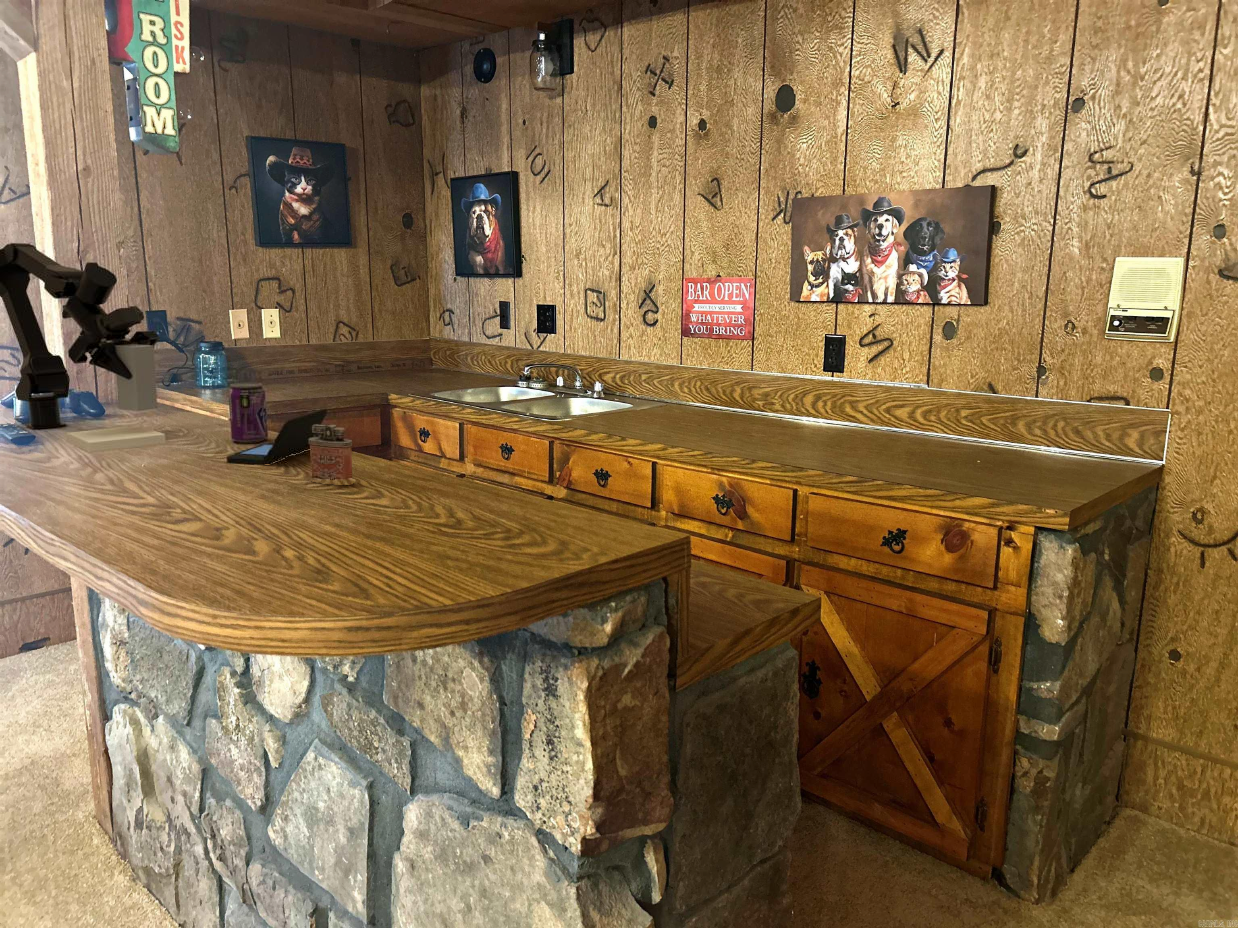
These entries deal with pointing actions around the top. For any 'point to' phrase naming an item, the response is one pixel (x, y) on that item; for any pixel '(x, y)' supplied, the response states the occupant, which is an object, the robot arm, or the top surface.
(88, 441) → the slab
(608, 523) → the top surface
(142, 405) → the tall block
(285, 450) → the game console
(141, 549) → the top surface
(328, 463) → the lighter
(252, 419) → the beverage can
